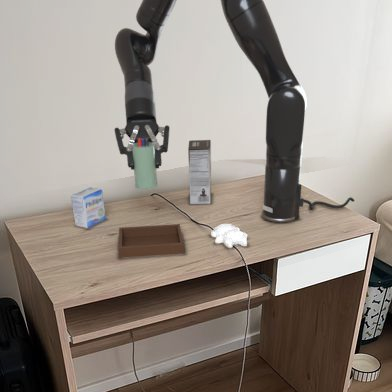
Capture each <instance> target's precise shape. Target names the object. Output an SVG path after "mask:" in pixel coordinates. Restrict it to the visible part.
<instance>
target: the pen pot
mask: <svg viewBox="0 0 392 392" xmlns="http://www.w3.org/2000/svg"><path fill="white" fill-rule="evenodd" d="M132 154H133V165H134V170H133V176H134V187H135V188H136V189H139V190H151V189H154V188H157V187H158V174H157V172H158V171H157V169H156V155H155V144H154V143H152V142H148V138H145V139H144V138H142V139H141V138H138V142H137V143H134V144H132Z"/></svg>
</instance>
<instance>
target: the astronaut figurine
mask: <svg viewBox="0 0 392 392" xmlns="http://www.w3.org/2000/svg"><path fill="white" fill-rule="evenodd" d="M210 236H211V238H215V240H214V243H215V244H221V243H222V244H224V246H225V247H227V248H229V249H232V248H233V246H235V245H240V246H241V247H247V246H248V239H247V238H248V233H246V232H244V231H241V229H240V228H239V227H237V226H236V225H234V224H231V223H221V224H219V225H216V226H215V227H214V228H213V230H211V232H210Z"/></svg>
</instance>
